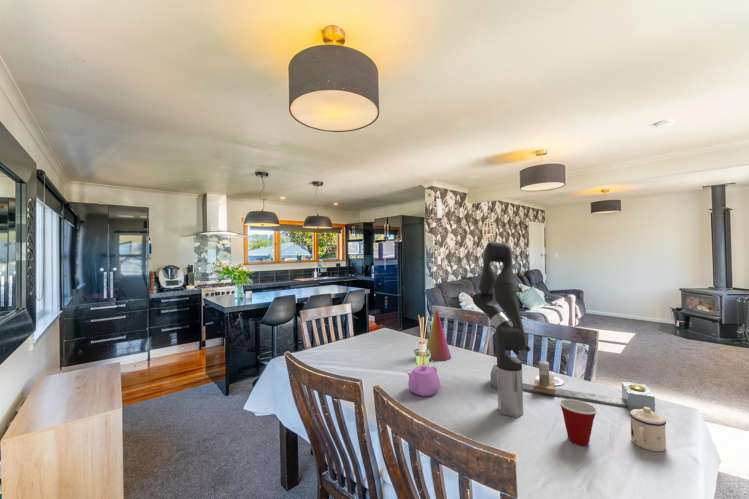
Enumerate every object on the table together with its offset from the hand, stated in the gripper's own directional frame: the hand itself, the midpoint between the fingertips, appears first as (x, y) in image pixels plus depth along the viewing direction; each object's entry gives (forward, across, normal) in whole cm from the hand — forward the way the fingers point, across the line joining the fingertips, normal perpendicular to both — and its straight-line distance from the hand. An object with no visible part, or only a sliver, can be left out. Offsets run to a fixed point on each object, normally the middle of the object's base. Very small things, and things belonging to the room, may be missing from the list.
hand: (524, 352), depth 154 cm
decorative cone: (-27, -5, +48) cm, 56 cm away
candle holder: (+14, +13, +8) cm, 21 cm away
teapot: (-4, -44, +26) cm, 52 cm away
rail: (+22, +4, -1) cm, 23 cm away
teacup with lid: (+46, -12, -25) cm, 54 cm away
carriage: (+16, 0, +3) cm, 17 cm away
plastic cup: (+37, -27, -15) cm, 48 cm away
